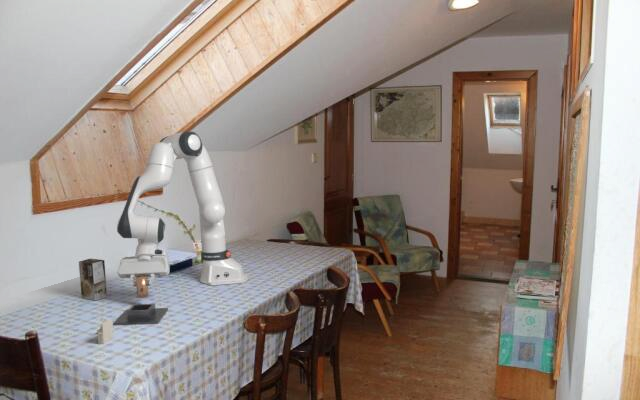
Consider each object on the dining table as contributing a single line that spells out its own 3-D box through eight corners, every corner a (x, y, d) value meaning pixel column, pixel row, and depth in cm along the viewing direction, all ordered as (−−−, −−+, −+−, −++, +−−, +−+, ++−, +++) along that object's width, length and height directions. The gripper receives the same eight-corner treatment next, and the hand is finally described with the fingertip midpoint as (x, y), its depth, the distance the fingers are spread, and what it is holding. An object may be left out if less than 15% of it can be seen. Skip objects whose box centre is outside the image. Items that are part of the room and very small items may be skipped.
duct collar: (168, 309, 219) (167, 300, 219) (158, 323, 203) (157, 313, 203) (126, 311, 219) (126, 301, 218) (113, 325, 203) (112, 315, 203)
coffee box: (107, 297, 239) (105, 259, 238) (95, 301, 234) (92, 263, 232) (93, 294, 244) (91, 257, 242) (80, 298, 239) (78, 261, 237)
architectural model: (94, 345, 185) (92, 323, 185) (106, 337, 192) (105, 316, 191) (103, 345, 185) (102, 323, 184) (115, 338, 191) (114, 317, 190)
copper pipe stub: (149, 294, 228) (148, 275, 227) (147, 297, 223) (145, 277, 222) (139, 294, 228) (137, 275, 227) (135, 298, 223) (134, 278, 222)
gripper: (118, 253, 230) (113, 282, 222) (169, 250, 231) (165, 280, 222) (123, 261, 235) (117, 290, 227) (172, 258, 236) (168, 288, 227)
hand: (141, 285), depth 224 cm, fingers closed on copper pipe stub, 4 cm apart
